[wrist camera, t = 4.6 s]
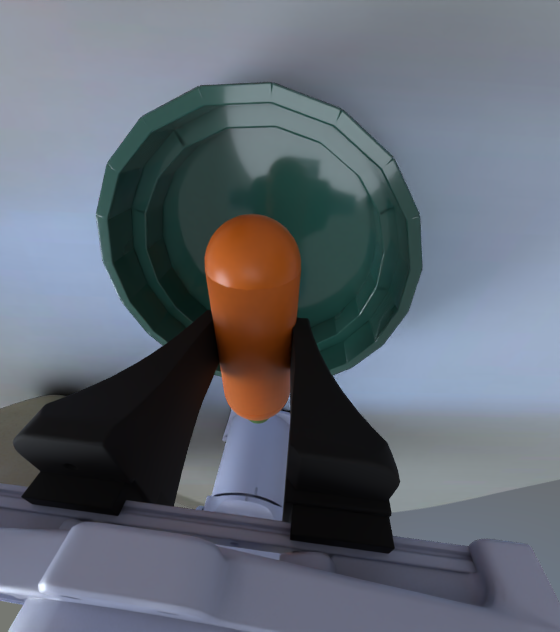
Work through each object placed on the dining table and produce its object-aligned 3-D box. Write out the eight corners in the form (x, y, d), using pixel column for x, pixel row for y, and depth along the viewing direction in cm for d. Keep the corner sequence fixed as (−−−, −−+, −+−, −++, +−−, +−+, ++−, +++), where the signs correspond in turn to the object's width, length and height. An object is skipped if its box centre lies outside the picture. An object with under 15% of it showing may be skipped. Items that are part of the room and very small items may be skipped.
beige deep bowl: (76, 450, 43) (8, 546, 34) (-31, 379, 33) (-171, 486, 24) (167, 442, 38) (117, 552, 29) (71, 355, 28) (-53, 480, 19)
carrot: (293, 393, 17) (280, 448, 14) (240, 382, 18) (218, 432, 15) (312, 207, 10) (293, 242, 7) (223, 198, 11) (175, 227, 8)
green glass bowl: (332, 361, 25) (335, 408, 21) (148, 308, 23) (114, 348, 19) (459, 157, 14) (513, 174, 10) (141, 36, 13) (64, 2, 9)
